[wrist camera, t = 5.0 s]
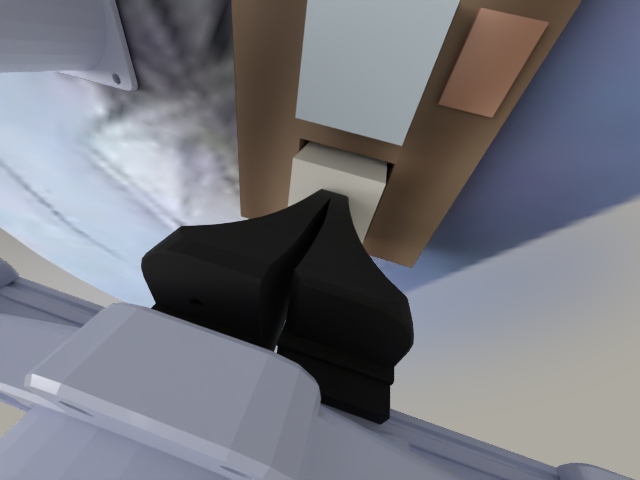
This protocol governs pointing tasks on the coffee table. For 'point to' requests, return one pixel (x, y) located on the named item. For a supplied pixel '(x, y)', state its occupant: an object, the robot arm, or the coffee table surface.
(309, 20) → the bluegrey key
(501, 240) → the coffee table surface
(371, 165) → the offwhite key
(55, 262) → the coffee table surface
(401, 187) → the keypad
